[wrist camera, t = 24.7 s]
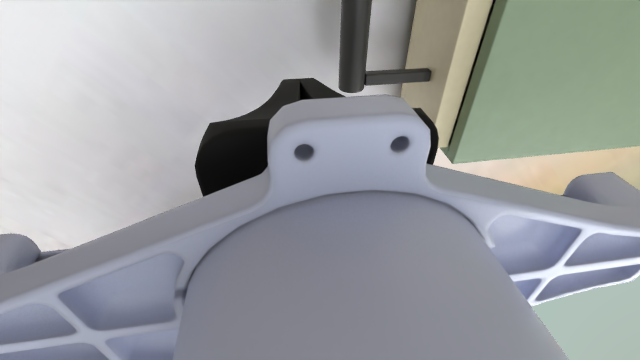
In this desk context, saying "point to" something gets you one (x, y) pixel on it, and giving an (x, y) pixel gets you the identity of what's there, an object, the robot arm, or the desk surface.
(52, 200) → the desk surface
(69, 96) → the desk surface
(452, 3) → the drawer
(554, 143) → the box
